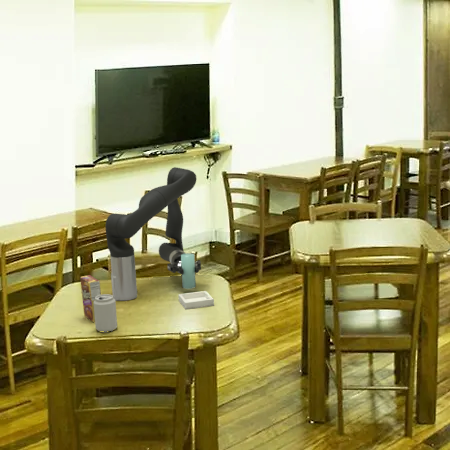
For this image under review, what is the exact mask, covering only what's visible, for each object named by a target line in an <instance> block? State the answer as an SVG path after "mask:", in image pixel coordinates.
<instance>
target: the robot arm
mask: <svg viewBox="0 0 450 450" xmlns="http://www.w3.org/2000/svg"><path fill="white" fill-rule="evenodd" d="M166 180H167V181H166V185H160V186H158V187H154V188H152V189H151V190H149V191H148V192H147V193H145V194H144V195H143V196H142V197H141V198H140V200H139V202H138V208H137V209H136V210H134V211H132V212H131V213H129V214H125V213H124V214H123V213H111V214H109V215H108V216H107V218H106V221H105V235H106V236H105V237H106V243H107V249H108V251H109V253H110V254H109V255H110V265H111V266H110V267H111V273H110V280H111V292H112V294H111V295H112V296H113V298H114V299H115V301H130V300H134V299H136V298H137V297H138V289H137V288H138V285H137V274H136V258H135V248H134V246H133V245H131V244H130V243H129V242H127V241H126V239H130V238H132V237H134V236H135V235H136V234H137V233H138V232H139V231H140V230H141V229H142V228H143V227H144V226H145V225H146V224H147V223H149V221H151V220H152V219H153V218H154V217H156V216H157V215H158V214H160V212H162V211H163V210H164V209H166V208H167V217H166V224H165V237H167V238H169V239H173V240H174V241H175V242H163V243H161V244H160V245H159V247H158V255H159V257H160V259H162V260H163V261H166V262H169V263H167V270H168V271H169V272H171V273H173V274H176V273H179V274H181V276H182V275H183V274H184V270H183V268H182V266H181V255H182V254H185V253H186V252H185V251H184V246H183V238H182V237H183V228H184V216H183V212H182V208H181V206H180V203H179V198H181V197H183V196H184V195H185V194H187V193H189V192H190V191H192V189H194V187H195V186H196V183H197V175H196V173H195V172H194V171H193V170H191V169H188V168H187V169H186V168H181V167H176V166H174V167H171V168H170V170H169V171H168V174H167V179H166ZM201 266H202V261H201V259H198V260H195V274H198V273H199V272H200V271H201V270H202V267H201Z"/></svg>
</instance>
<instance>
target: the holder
mask: <svg viewBox="0 0 450 450" xmlns="http://www.w3.org/2000/svg"><path fill="white" fill-rule="evenodd" d="M178 302H179V303H180V304H181V306H182V307H183V308H184V309H185V310H191V309H192V310H193V309H198V308H207V307H214V306H215V299H214V298H213V297H212V296H211V294H209V292H208V291H207V290H203V291H195V292H193V291H192V292H186V293H178Z"/></svg>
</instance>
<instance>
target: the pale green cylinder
mask: <svg viewBox="0 0 450 450" xmlns="http://www.w3.org/2000/svg"><path fill="white" fill-rule="evenodd" d="M195 262H196V260H195V253H192V252H191V253H190V252H185V254H182V255H181V266H182V268H183V270H184V274H183V275H182V274H181V282H182V283H181V284H182V289H185V290H186V289H187V290H189V289H194V288H196V287H197V286H196V285H197V283H196V272H195Z"/></svg>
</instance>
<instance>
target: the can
mask: <svg viewBox="0 0 450 450" xmlns="http://www.w3.org/2000/svg"><path fill="white" fill-rule="evenodd" d="M94 314H95V324H94V325H95V326H94V327H95V329H96V330H97V331H98V332H99V331H104V332H103V333H108V332H107V331H111V332H113V330H114V329H115V330H116V329H117V327H118V316H117V304H116V300H115V299H114V298H113V294H107V293H106V294H105V293H104V294H101V295H98V296H96V297H95V301H94ZM115 330H114V331H115Z"/></svg>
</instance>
